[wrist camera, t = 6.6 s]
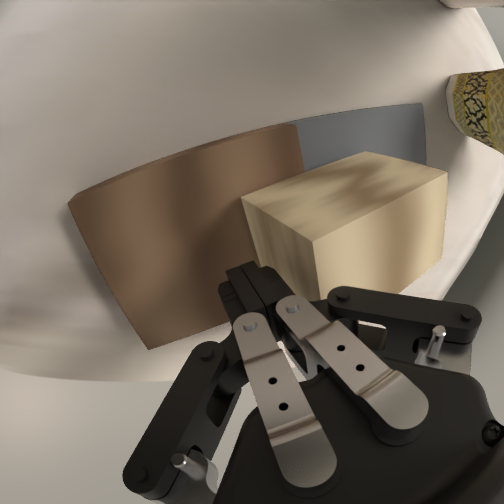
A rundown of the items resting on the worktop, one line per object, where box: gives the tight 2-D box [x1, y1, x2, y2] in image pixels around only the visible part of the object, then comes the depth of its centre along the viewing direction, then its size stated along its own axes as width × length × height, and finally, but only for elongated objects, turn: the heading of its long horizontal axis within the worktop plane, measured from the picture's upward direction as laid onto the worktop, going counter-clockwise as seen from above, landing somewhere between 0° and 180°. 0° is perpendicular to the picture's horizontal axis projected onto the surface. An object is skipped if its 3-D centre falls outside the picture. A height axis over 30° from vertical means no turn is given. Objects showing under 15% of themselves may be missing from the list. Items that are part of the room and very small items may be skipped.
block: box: [241, 151, 448, 321], centre depth 16 cm, size 10×6×7 cm, turn 105°
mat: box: [285, 103, 426, 172], centre depth 21 cm, size 14×11×1 cm
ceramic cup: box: [446, 68, 504, 155], centre depth 18 cm, size 13×10×10 cm
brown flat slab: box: [68, 123, 305, 350], centre depth 19 cm, size 14×12×2 cm
